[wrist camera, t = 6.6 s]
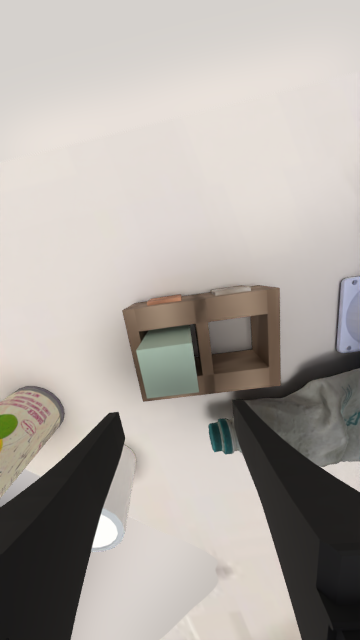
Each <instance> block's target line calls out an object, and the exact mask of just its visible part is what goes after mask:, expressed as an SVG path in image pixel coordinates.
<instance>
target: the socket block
mask: <svg viewBox="0 0 360 640" xmlns="http://www.w3.org/2000/svg"><path fill="white" fill-rule="evenodd" d="M122 311H123V316H124V320H125V325H126V329H127V333H128V338H129V342H130V346H131V351H132V355H133V359H134V364H135V368H136V373H137V377H138V381H139V386H140V390H141V394H142V399H143V402H144V401H152V400H161V399H169V398H178V397H187V396H195V395H204V394H212V393H221V392H229V391H238V390H247V389H255V388H264V387H272V386H281V374H280V288H276V287H268V286H260V285H257V286H251V287H246V286H236V287H229V288H222V289H215V290H211V292H209V293H202V294H195V295H189V296H182V297H181V295H174V296H167V297H160V298H153V299H151V300H149V301H147V302H140V303H134V304H133V305H131V306H129V307H128V308H126V309H124V310H122ZM248 316H251V335H252V350H245V351H237V352H229V353H221V354H213V355H212V354H211V346H210V337H209V328H208V322H211V321H219V320H226V319H233V318H240V317H248ZM189 324H195V330H196V337H197V345H198V353H199V356H198V357H194V359H195V366H196V373H197V380H198V388H199V392H197V393H189V394H180V395H172V396H164V397H156V398H148V399H147V396H146V392H145V387H144V383H143V378H142V374H141V370H140V365H139V361H138V357H137V352H136V350H137V348H138V347H139V345H140V343H141V342H142V340H143V339H144V337H145V335H146V334H147V332H148V331H149V330H153V329H160V328H167V327H175V326H182V325H189Z"/></svg>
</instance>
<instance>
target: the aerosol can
mask: <svg viewBox="0 0 360 640" xmlns="http://www.w3.org/2000/svg"><path fill="white" fill-rule="evenodd" d="M63 418H64V410H63V406H62V404H61V402H60V401H59V399H58V398H57V397H56V396H55V395H54V394H53V393H51V392H49V391H47V390H46V389H43V388H39V387H24V388H21V389H18V390H17V391H16V392H14V393H13V394H11V395H10V396H8V397H7V398H6V399H4V400H3V401H1V402H0V498H1V497H2V496H3V494H4V493H5V492H6V491H7V490H8V488H9V487H10V486H11V485H12V483H13V482H14V481H15V480H16V479H17V477H18V476H19V475H20V474H21V472H22V471H23V470H24V469H25V468H26V466H27V465H28V464H29V463H30V461H31V460H32V459H33V458H34V457H35V455H36V454H37V453H38V452H39V450H40V449H41V448H42V447H43V446H44V444H45V443H46V442H47V441H48V439H49V438H50V437H51V436H52V435H53V433H54V432H55V431H56V429H57V428H58V427H59V426H60V424H61V423H62V421H63Z"/></svg>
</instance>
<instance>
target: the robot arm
mask: <svg viewBox="0 0 360 640" xmlns="http://www.w3.org/2000/svg"><path fill="white" fill-rule="evenodd" d="M353 280H354V283H353V284H352V281H353ZM347 347H348V348H347ZM346 348H347V349H346ZM337 351H339V352H341V353H348V352H356V351H360V276H357V277H350V278H345V279H344V280H343V281H342V283H341V293H340V307H339V321H338V335H337ZM232 402H233V416H234V428H235V431H236V435H237V439H238V442H239V445H240V448H241V451H242V453H243V456H244V459H245V461H246V464H247V466H248V469H249V471H250V474H251V476H252V479H253V481H254V484H255V487H256V489H257V492H258V494H259V497H260V500H261V503H262V506H263V509H264V513H265V516H266V519H267V522H268V525H269V529H270V532H271V535H272V539H273V542H274V545H275V548H276V552H277V555H278V558H279V562H280V565H281V568H282V572H283V575H284V579H285V582H286V586H287V589H288V592H289V596H290V599H291V603H292V606H293V610H294V613H295V617H296V620H297V624H298V627H299V631H300V634H301V638H302V640H360V492H358V491H357V490H355V489H354V488H352V487H350V486H349V485H347V484H345V483H344V482H342V481H340V480H339V479H337V478H336V477H334V476H333V475H331V474H330V473H328V472H327V471H325V470H324V469H322V468H321V467H319V466H318V465H316V464H315V463H313V462H312V461H311V460H309V459H308V458H306V457H305V456H304V455H302V454H301V453H300V452H299V451H297V450H296V449H295V448H293V447H292V446H291V445H290V444H289V443H287V442H286V441H285V440H284V439H283V438H281V437H280V436H279V435H278V434H277V433H276V432H275V431H274V430H272V429H271V428H270V427H269V426H268V425H267V424H266V423H265V422H264V421H263V420H262V419H261V418H260V417H259V416H258V415H257V414H256V413H255V412H254V411H253V410H252V409H251V408H250V406H249V405H248V404H247V403H246V402H245V401H244V400H243V399H238V400H232ZM124 441H125V435H124V431H123V428H122V424H121V420H120V416H119V412H114V413H109V414H108V415H107V416H106V417H105V418H104V419H103V420H102V421H101V422H100V423H99V424H98V425H97V426H96V427H95V428H94V429H93V430H92V431H91V432H90V433H89V434H88V435H87V436H86V437H85V438H84V439H83V440H82V441H81V442H80V443H79V444H78V445H77V446H76V447H75V448H73V449H72V450H71V451H70V452H69V453H68V454H67V455H66V456H65V457H64V458H63V459H62V460H61V461H60V462H58V463H57V464H56V465H55V466H54V467H53V468H51V469H50V470H49V471H48V472H47V473H45V474H44V475H43V476H42V477H41V478H39V479H38V480H37V481H35V483H33V484H31V485H30V486H29V487H28V488H26V489H25V490H24V491H22V492H21V493H20V494H18V495H17V496H16V497H14V498H13V499H12V500H10V501H9V502H7V503H6V504H5V505H3V506H2V507H0V640H70V639H71V635H72V630H73V625H74V621H75V616H76V611H77V607H78V603H79V598H80V594H81V590H82V586H83V582H84V577H85V573H86V569H87V565H88V561H89V557H90V553H91V549H92V545H93V541H94V538H95V534H96V530H97V527H98V523H99V519H100V516H101V513H102V509H103V506H104V503H105V500H106V498H107V495H108V492H109V489H110V486H111V483H112V481H113V478H114V475H115V472H116V469H117V466H118V464H119V461H120V458H121V454H122V450H123V446H124Z"/></svg>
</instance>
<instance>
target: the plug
mask: <svg viewBox="0 0 360 640" xmlns="http://www.w3.org/2000/svg"><path fill="white" fill-rule="evenodd" d="M136 352H137V357H138V361H139V365H140V370H141V374H142V378H143V383H144V387H145V392H146V396H147V399H148V398H156V397H164V396H172V395H180V394H189V393H197V392H199V388H198V380H197V373H196V366H195V359H194V352H193V345H192V338H191V331H190V324H189V325H182V326H175V327H167V328H160V329H153V330H149V331H148V332H147V334H146V335H145V337H144V339H143V340H142V342H141V343H140V345H139V347H138V348H137V350H136Z"/></svg>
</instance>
